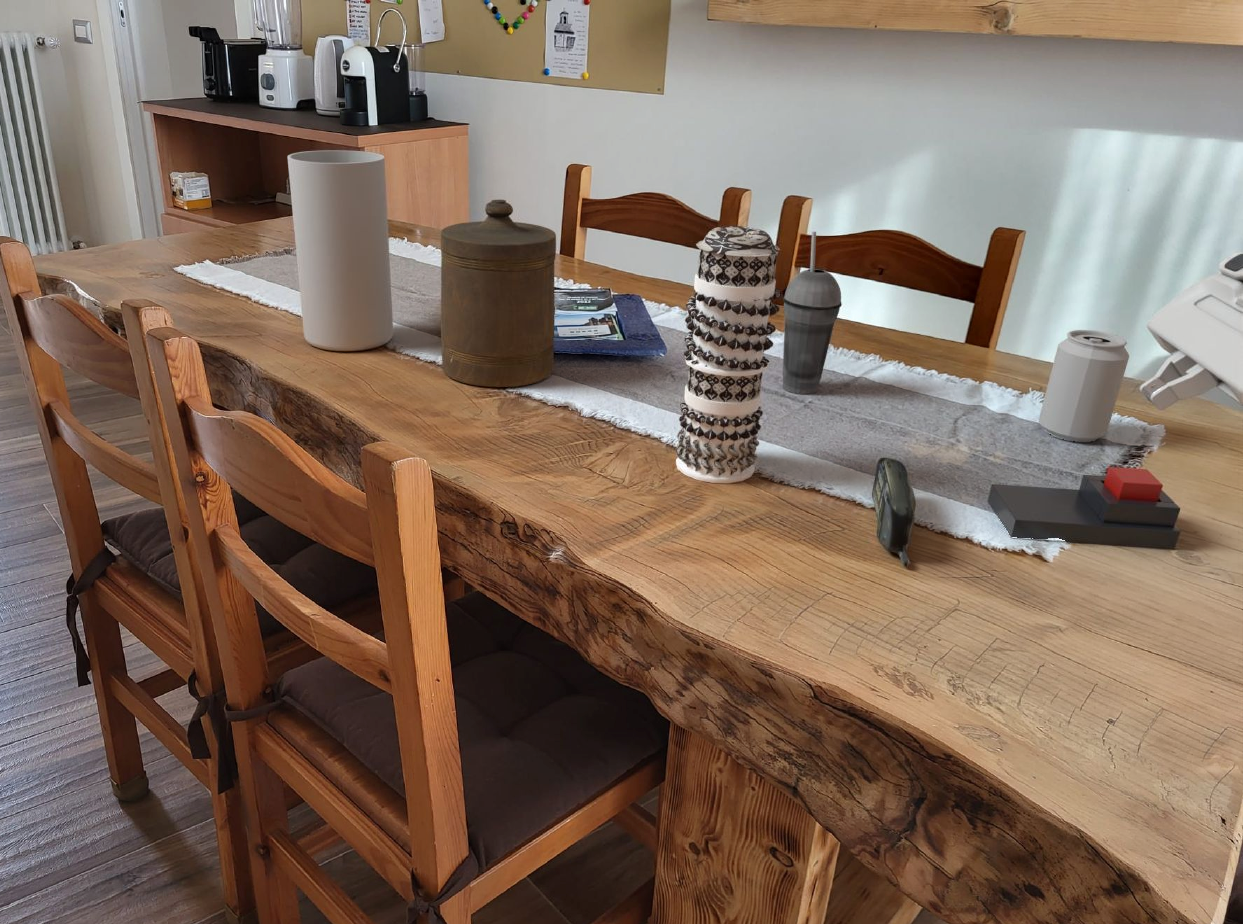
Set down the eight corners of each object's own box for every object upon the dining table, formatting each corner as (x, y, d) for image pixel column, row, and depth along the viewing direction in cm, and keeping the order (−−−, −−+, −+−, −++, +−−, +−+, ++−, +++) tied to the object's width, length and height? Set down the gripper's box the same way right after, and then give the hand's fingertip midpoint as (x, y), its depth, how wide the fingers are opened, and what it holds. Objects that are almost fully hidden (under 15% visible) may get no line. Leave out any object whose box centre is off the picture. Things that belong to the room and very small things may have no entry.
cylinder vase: (286, 344, 139) (267, 158, 128) (338, 322, 150) (325, 147, 138) (361, 358, 135) (348, 166, 124) (410, 334, 145) (402, 155, 134)
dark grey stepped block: (1138, 511, 100) (1150, 475, 98) (1174, 550, 93) (1187, 512, 91) (987, 501, 101) (995, 465, 100) (1010, 538, 94) (1020, 500, 92)
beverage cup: (804, 402, 125) (827, 242, 116) (760, 385, 130) (779, 231, 121) (839, 390, 130) (864, 235, 121) (795, 375, 135) (816, 225, 126)
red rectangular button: (1140, 488, 97) (1147, 469, 96) (1156, 504, 94) (1163, 485, 93) (1102, 485, 97) (1108, 466, 96) (1117, 501, 94) (1123, 482, 93)
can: (1107, 429, 120) (1135, 334, 115) (1101, 450, 114) (1131, 350, 109) (1041, 416, 124) (1066, 322, 118) (1032, 435, 118) (1057, 337, 112)
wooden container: (560, 356, 138) (565, 193, 129) (543, 392, 125) (546, 214, 115) (457, 348, 140) (453, 187, 130) (429, 383, 127) (423, 207, 117)
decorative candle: (772, 482, 104) (805, 240, 93) (687, 487, 102) (711, 241, 91) (740, 447, 112) (767, 221, 100) (661, 452, 110) (680, 221, 99)
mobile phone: (874, 452, 100) (891, 515, 86) (905, 455, 99) (927, 519, 86) (866, 497, 102) (881, 565, 88) (896, 500, 101) (916, 569, 88)
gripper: (1391, 366, 78) (1220, 470, 83) (1257, 297, 96) (1123, 386, 101) (1353, 307, 76) (1181, 417, 81) (1224, 248, 94) (1090, 341, 100)
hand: (1148, 399), depth 91 cm, fingers closed
